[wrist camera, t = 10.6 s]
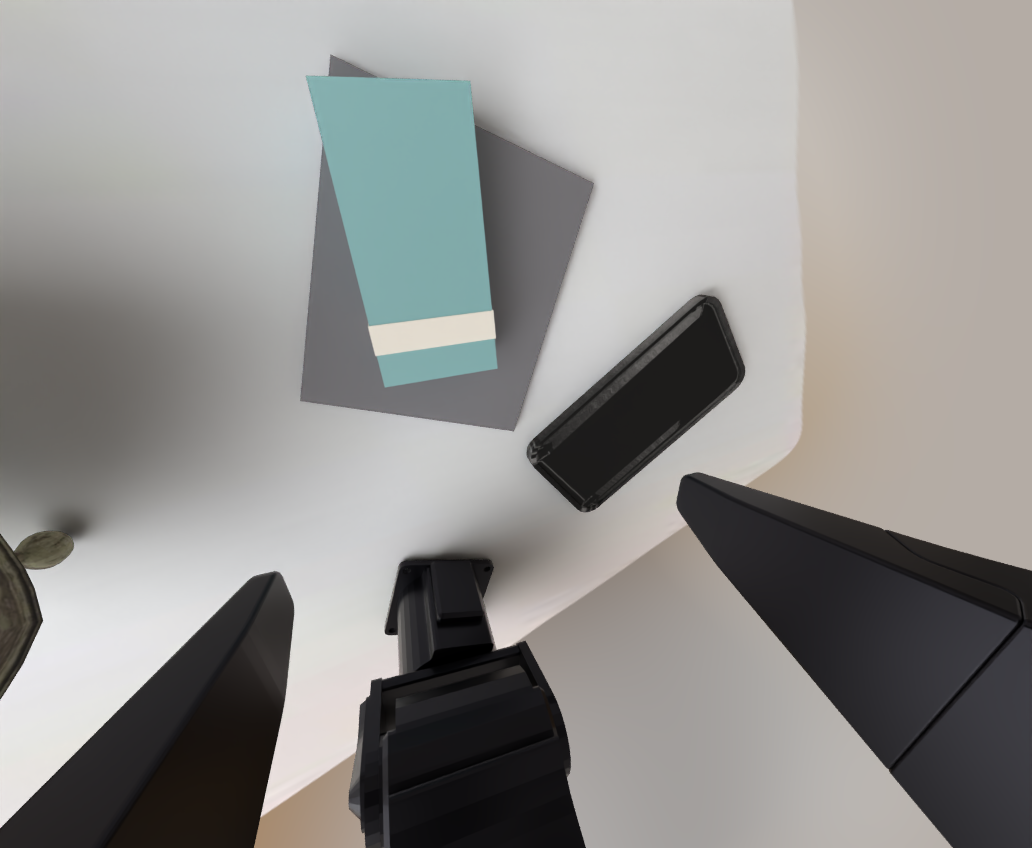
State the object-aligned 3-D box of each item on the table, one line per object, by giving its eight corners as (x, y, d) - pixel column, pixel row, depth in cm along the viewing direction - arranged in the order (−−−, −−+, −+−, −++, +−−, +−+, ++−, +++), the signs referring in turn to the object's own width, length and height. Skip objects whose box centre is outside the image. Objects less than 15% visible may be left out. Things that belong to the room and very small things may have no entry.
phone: (523, 457, 22) (715, 288, 21) (517, 448, 23) (701, 285, 22) (586, 518, 26) (749, 379, 25) (579, 508, 27) (736, 374, 26)
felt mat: (511, 427, 22) (513, 431, 21) (302, 396, 17) (300, 400, 17) (588, 184, 17) (593, 183, 17) (332, 60, 13) (330, 54, 12)
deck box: (498, 368, 17) (471, 80, 12) (383, 388, 15) (303, 74, 11) (485, 354, 19) (459, 105, 14) (383, 370, 17) (317, 103, 13)
